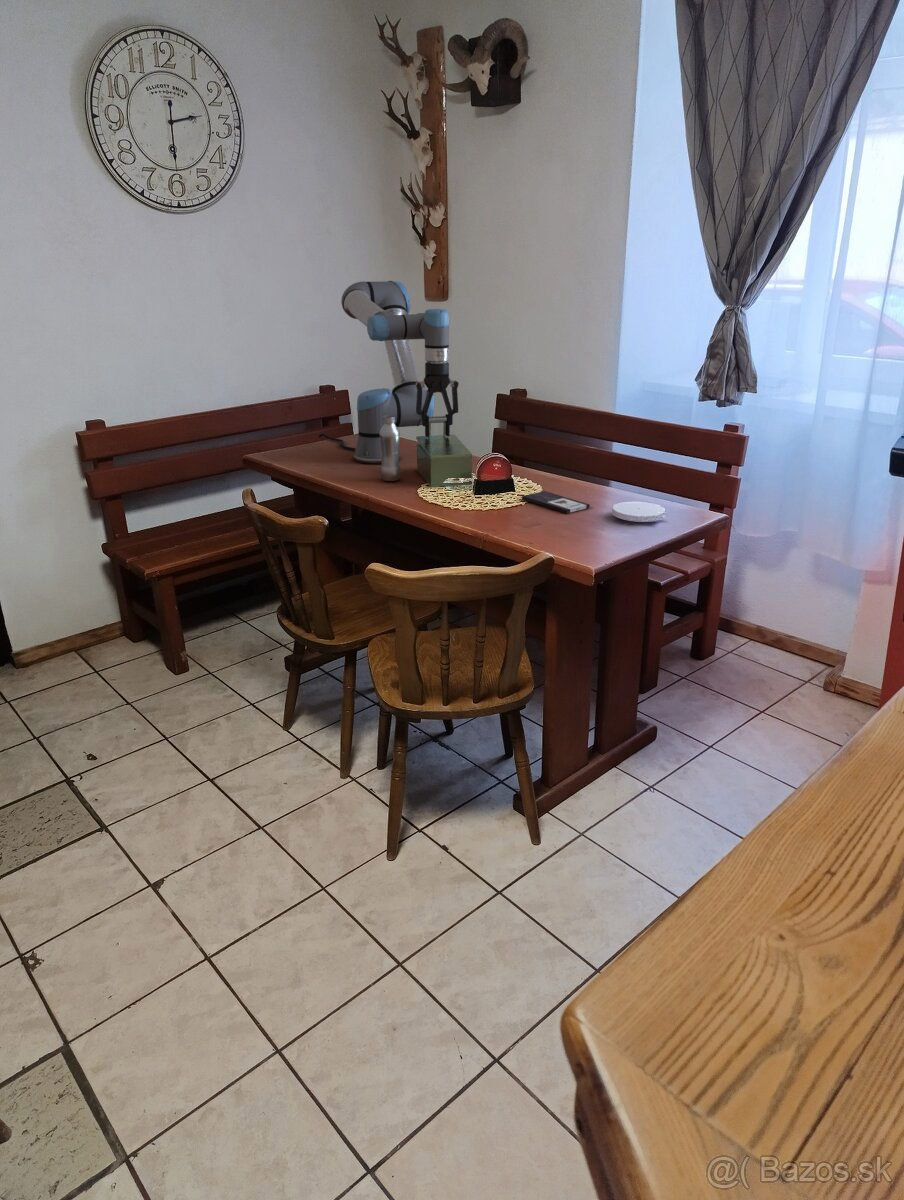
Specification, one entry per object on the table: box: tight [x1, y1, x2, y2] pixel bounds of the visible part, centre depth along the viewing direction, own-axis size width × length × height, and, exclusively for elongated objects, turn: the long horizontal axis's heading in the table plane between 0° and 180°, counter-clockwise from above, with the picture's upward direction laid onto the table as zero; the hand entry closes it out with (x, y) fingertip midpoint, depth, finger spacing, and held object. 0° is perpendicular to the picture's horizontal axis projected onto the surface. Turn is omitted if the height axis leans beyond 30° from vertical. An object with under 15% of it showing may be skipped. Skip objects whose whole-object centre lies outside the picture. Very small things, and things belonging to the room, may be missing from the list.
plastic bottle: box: [379, 415, 402, 482], centre depth 251 cm, size 6×7×20 cm
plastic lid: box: [611, 501, 667, 523], centre depth 218 cm, size 14×14×2 cm
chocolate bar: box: [521, 490, 590, 514], centre depth 231 cm, size 9×1×18 cm
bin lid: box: [415, 415, 473, 459], centre depth 254 cm, size 22×13×8 cm, turn 14°
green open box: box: [416, 443, 473, 488], centre depth 257 cm, size 21×13×9 cm, turn 14°
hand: (437, 435), depth 262 cm, fingers closed on bin lid, 6 cm apart
